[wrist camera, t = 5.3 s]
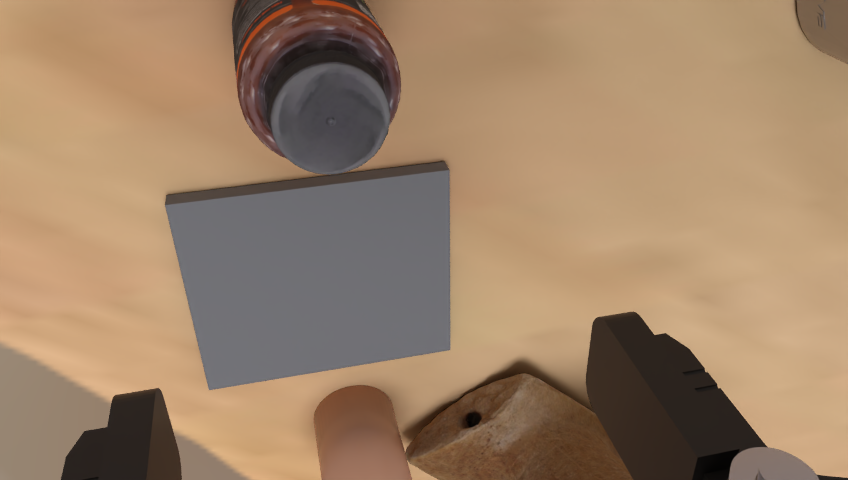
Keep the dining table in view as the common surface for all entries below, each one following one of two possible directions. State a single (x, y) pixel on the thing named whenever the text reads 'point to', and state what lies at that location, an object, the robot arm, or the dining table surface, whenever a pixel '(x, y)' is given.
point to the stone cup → (516, 437)
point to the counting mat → (316, 271)
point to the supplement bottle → (315, 80)
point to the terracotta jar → (359, 436)
